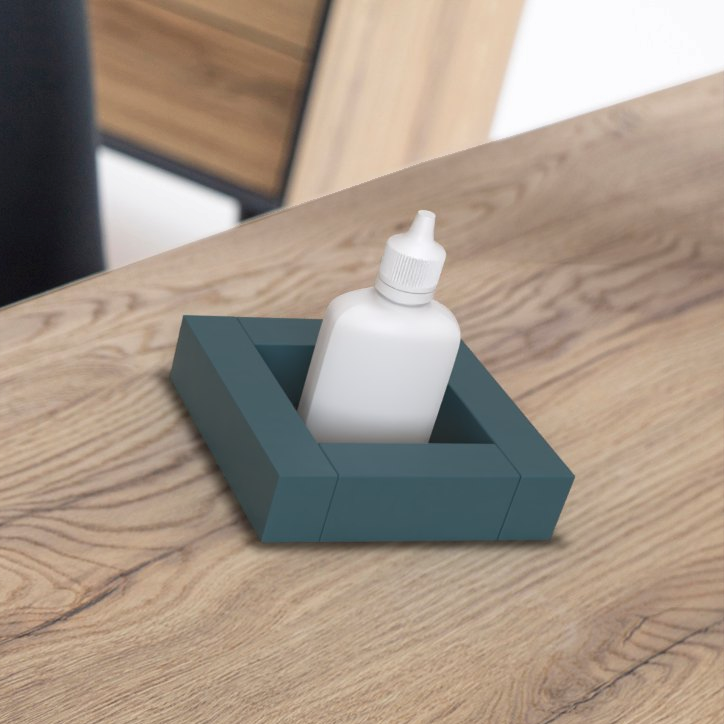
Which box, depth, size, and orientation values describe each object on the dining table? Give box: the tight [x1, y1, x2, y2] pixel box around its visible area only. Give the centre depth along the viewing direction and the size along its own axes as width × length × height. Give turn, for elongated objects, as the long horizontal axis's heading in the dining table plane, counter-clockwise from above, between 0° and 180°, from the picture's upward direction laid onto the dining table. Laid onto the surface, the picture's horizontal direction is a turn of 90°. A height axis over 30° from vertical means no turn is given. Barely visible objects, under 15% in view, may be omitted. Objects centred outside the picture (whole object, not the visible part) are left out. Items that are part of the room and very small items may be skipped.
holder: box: [169, 314, 576, 543], centre depth 74 cm, size 13×13×4 cm
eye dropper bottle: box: [296, 209, 462, 444], centre depth 72 cm, size 4×6×12 cm
